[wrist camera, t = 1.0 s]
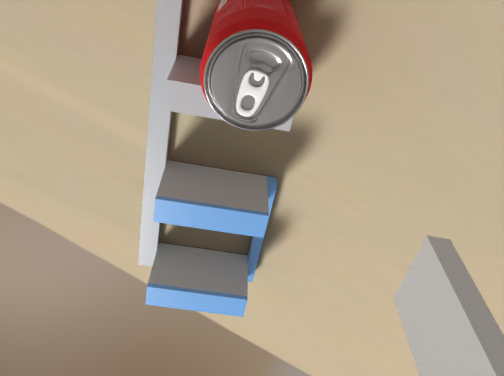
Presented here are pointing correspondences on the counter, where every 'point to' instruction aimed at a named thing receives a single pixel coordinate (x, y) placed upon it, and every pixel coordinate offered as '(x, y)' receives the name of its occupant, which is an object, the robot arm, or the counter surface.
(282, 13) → the beverage can
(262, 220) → the grey blue slotted rack
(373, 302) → the counter surface
